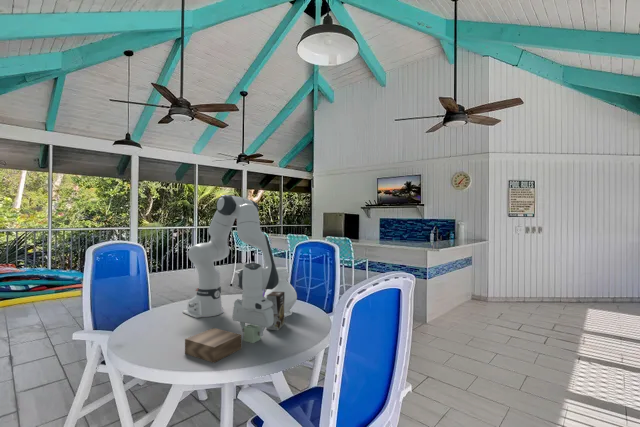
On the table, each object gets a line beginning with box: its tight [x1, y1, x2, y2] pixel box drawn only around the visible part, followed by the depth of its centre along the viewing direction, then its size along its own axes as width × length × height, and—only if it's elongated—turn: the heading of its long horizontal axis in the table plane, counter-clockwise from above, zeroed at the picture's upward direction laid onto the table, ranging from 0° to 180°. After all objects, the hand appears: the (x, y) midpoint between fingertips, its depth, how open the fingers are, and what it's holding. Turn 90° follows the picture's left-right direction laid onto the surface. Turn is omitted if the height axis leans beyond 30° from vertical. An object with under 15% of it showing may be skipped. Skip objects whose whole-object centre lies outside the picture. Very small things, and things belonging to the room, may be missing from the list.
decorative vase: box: [264, 266, 298, 318], centre depth 172 cm, size 18×18×25 cm
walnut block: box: [184, 327, 242, 364], centre depth 124 cm, size 16×14×6 cm
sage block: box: [243, 324, 262, 344], centre depth 135 cm, size 5×5×6 cm
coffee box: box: [265, 292, 285, 331], centre depth 151 cm, size 9×6×16 cm
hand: (252, 333), depth 135 cm, fingers open, 7 cm apart
